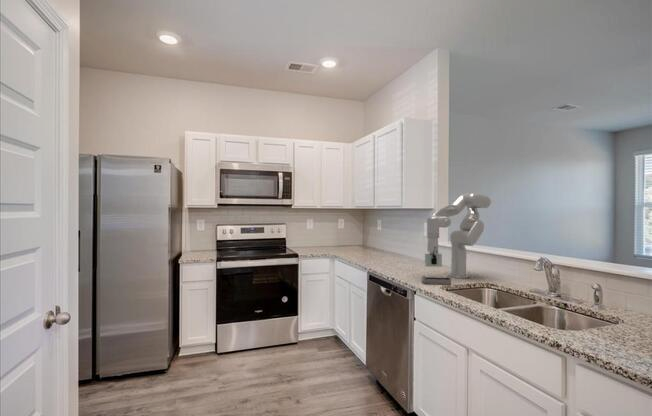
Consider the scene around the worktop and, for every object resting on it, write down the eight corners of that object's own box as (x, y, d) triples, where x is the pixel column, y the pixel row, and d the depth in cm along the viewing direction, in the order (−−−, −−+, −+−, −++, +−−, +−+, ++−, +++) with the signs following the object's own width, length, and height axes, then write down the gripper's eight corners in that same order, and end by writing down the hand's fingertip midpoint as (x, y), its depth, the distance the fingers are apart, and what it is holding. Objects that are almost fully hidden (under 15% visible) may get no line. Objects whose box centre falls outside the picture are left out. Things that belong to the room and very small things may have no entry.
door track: (421, 281, 207) (422, 275, 207) (447, 282, 206) (447, 276, 206) (424, 284, 200) (424, 277, 200) (451, 285, 199) (451, 278, 199)
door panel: (425, 265, 215) (424, 253, 215) (440, 265, 215) (440, 253, 214) (426, 266, 212) (425, 254, 212) (441, 266, 212) (441, 254, 211)
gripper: (424, 234, 221) (424, 261, 222) (430, 237, 205) (430, 266, 206) (435, 234, 221) (435, 261, 221) (442, 237, 205) (442, 266, 205)
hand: (433, 263), depth 213 cm, fingers closed on door panel, 3 cm apart
